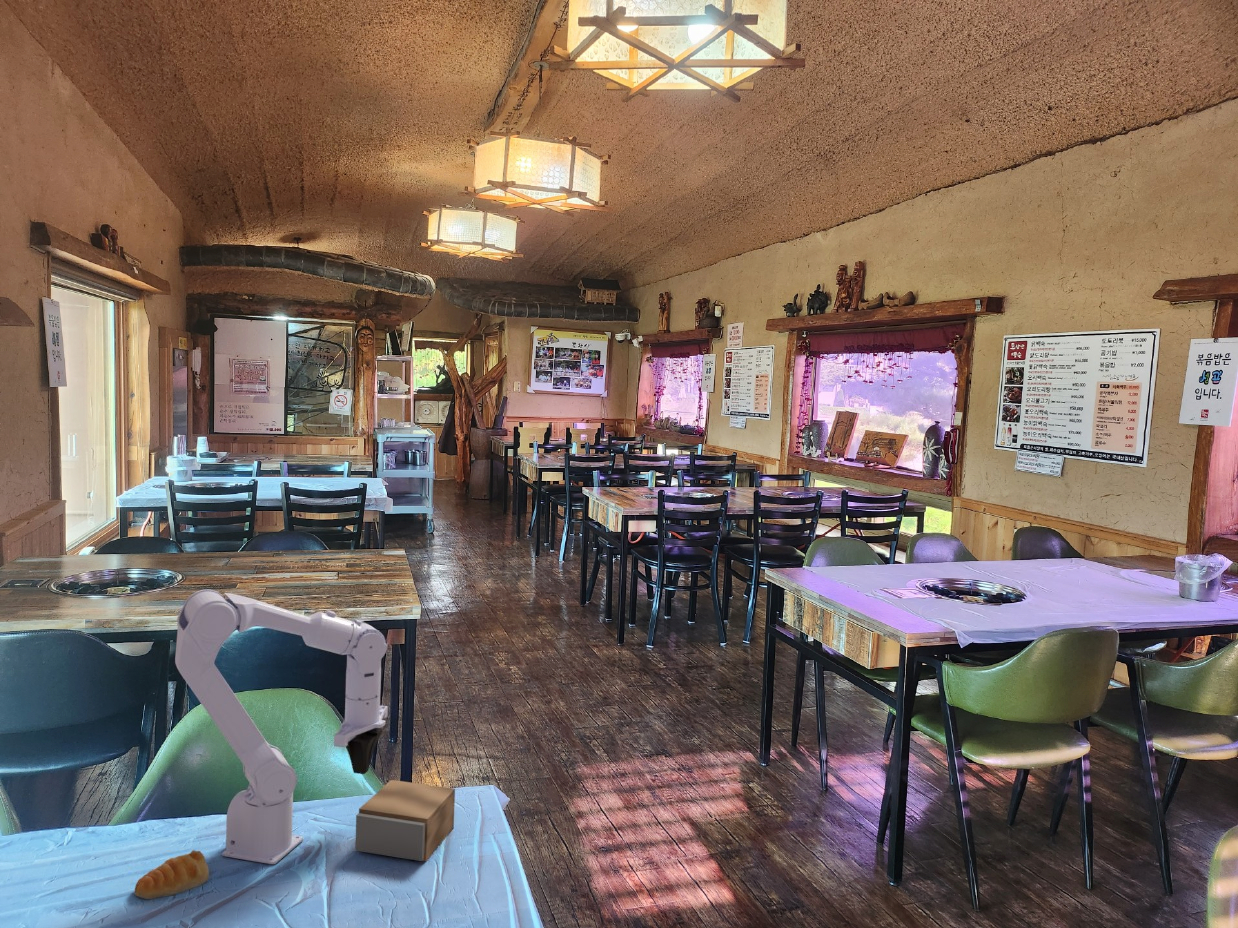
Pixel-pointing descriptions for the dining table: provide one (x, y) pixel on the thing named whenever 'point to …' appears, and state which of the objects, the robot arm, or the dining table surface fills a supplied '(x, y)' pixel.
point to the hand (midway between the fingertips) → (360, 771)
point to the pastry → (174, 876)
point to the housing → (416, 809)
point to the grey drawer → (390, 836)
